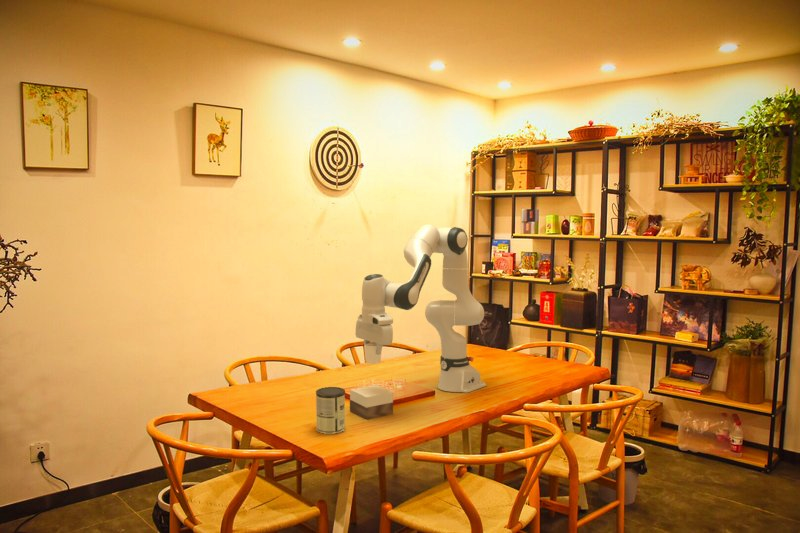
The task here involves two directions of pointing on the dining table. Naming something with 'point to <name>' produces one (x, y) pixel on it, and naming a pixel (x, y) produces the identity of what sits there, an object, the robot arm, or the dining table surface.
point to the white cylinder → (371, 353)
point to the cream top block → (371, 396)
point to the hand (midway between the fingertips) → (373, 352)
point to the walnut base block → (371, 410)
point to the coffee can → (330, 410)
